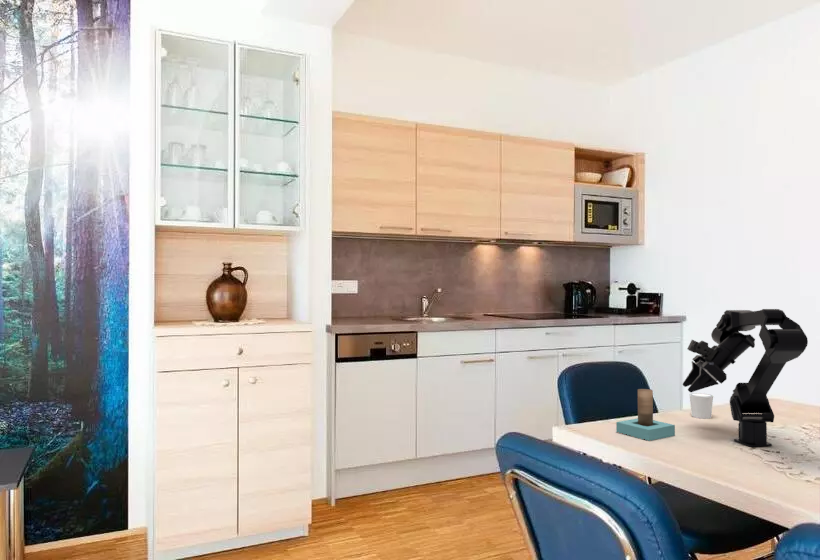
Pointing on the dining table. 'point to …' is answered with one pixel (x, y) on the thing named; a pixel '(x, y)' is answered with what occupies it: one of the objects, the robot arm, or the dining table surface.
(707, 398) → the white cup
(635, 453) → the dining table surface
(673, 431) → the socket block
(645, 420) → the walnut pin
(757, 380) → the robot arm
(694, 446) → the dining table surface
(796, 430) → the dining table surface
